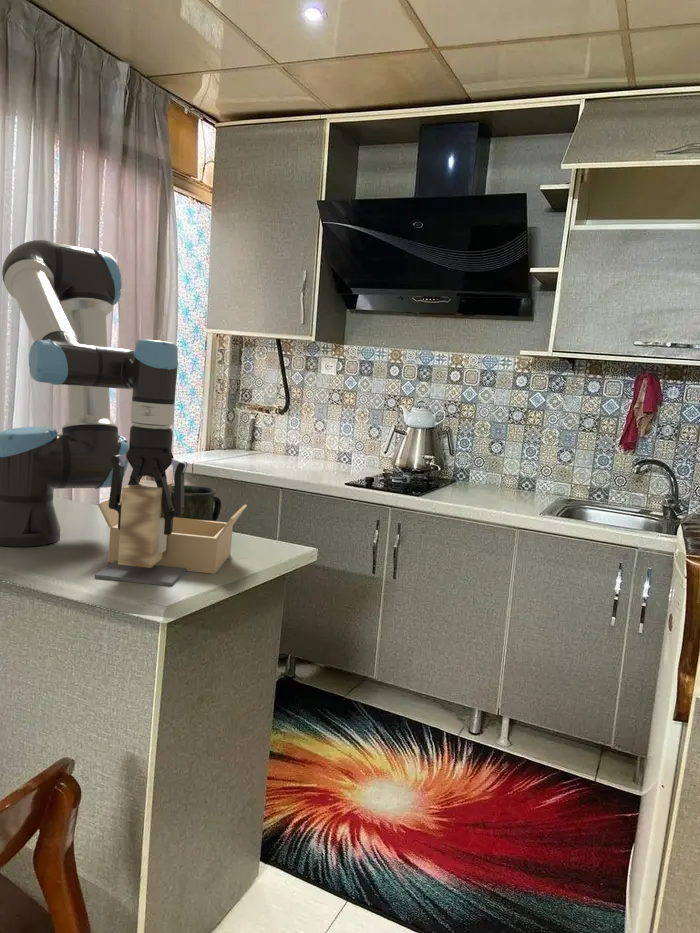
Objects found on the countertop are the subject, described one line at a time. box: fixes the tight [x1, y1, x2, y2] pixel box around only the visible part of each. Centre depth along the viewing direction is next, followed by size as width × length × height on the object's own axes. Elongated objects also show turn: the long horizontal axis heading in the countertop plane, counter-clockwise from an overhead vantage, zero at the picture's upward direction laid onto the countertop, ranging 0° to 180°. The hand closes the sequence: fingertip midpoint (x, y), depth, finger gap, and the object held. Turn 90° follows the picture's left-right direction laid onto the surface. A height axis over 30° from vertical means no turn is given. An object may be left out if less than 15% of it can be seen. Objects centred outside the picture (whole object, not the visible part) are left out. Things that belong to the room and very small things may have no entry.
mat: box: [94, 561, 187, 587], centre depth 133 cm, size 14×10×1 cm
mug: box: [171, 484, 222, 522], centre depth 162 cm, size 11×15×12 cm
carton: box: [97, 493, 248, 575], centre depth 145 cm, size 26×15×12 cm, turn 88°
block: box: [118, 479, 173, 568], centre depth 132 cm, size 6×10×14 cm, turn 178°
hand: (143, 549), depth 132 cm, fingers closed on block, 6 cm apart
